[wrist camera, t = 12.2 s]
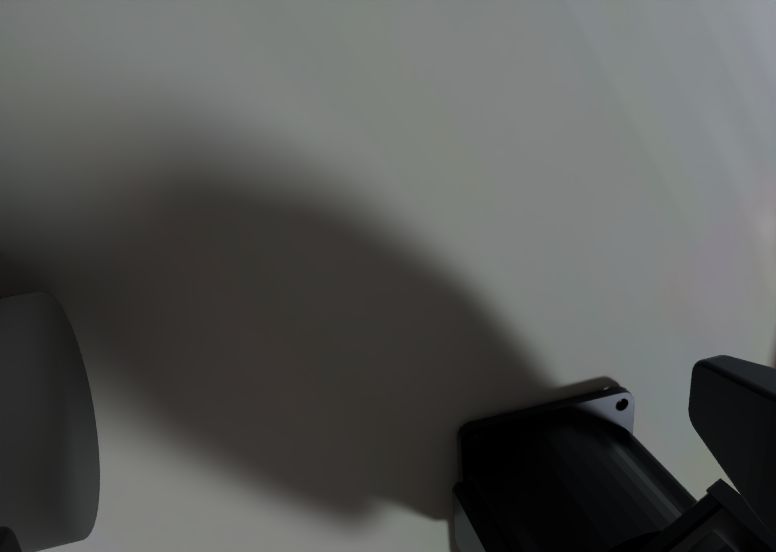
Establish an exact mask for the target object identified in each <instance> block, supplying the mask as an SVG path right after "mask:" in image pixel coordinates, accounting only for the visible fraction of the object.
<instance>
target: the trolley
mask: <svg viewBox="0 0 776 552" xmlns="http://www.w3.org/2000/svg"><path fill="white" fill-rule="evenodd" d="M99 490H100V464H99V447H98V437H97V428H96V421H95V414H94V408H93V402H92V397H91V392H90V387H89V382H88V378H87V374H86V370H85V366H84V362H83V359H82V355H81V352H80V349H79V346H78V343H77V340H76V337H75V335H74V332H73V330H72V327H71V325H70V323H69V320H68V318H67V316H66V314H65V312H64V311H63V309H62V307H61V306H60V304H59V303H58V301H57V300H56V299H55V298H54V297H53V296H52V295H51V294H50V293H48V292H46V291H38V292H33V293H27V294H22V295H16V296H10V297H5V298H0V527H3V526H6V527H9V528H11V529H12V530H13V532H14V533H15V535H16V537H17V539H18V542H19V544H20V547H21V550H22V552H36V551H40V550H44V549H48V548H52V547H56V546H60V545H64V544H68V543H72V542H76V541H80V540H84V539H85V538H87V537H88V536H89V534H90V533H91V531H92V529H93V527H94V524H95V520H96V516H97V510H98V503H99Z"/></svg>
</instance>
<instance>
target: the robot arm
mask: <svg viewBox="0 0 776 552" xmlns="http://www.w3.org/2000/svg"><path fill="white" fill-rule="evenodd" d="M621 399H622V400H621ZM619 400H621V401H620V403H618V404H616V403H617V402H618V401H619ZM634 406H635V400H634V397H633V395H632V394H631V393H630V392H629V391H628V390H627V389H626V388H623V387H614V388H610V389H606V390H602V391H597V392H593V393H589V394H585V395H581V396H577V397H572V398H568V399H564V400H560V401H556V402H552V403H547V404H543V405H539V406H535V407H531V408H527V409H522V410H518V411H514V412H510V413H506V414H502V415H497V416H493V417H489V418H485V419H481V420H477V421H472V422H469V423H467V424H465V425H463V426H462V427H461V428H460V430H459V431H458V433H457V449H458V465H459V482H456V483H455V485H454V487H453V489H452V495H453V511H454V526H455V540H456V544H457V546H458V548H459V550H460V552H776V369H775V368H772V367H768V366H764V365H761V364H757V363H753V362H749V361H746V360H742V359H738V358H734V357H731V356H727V355H719V356H715V357H711V358H707V359H702V360H699V361H698V362H696V363H695V365H694V367H693V370H692V377H691V387H690V397H689V408H688V411H689V417H690V421H691V423H692V425H693V427H694V429H695V430H696V432H697V433H698V434H699V436H700V437H701V439H702V440H703V442H704V443H705V444H706V446H707V447H708V449H709V450H710V452H711V453H712V454H713V456H714V457H715V459H716V460H717V462H718V463H719V464H720V466H721V467H722V469H723V470H724V472H725V473H726V474H727V476H728V477H729V479H730V480H731V482H732V483H733V484H734V486H735V487H736V489H737V490H738V492H739V493H740V494H739V493H738V492H736V491H735V490H734V489H733V488H732V487H730V486H729V485H728V484H727V483H726V482H724V481H723V480H722V479H721V478H720V479H719V480H718V481H716V482H715V483H714V484H713V485H711V486H710V487H709V488H708V489H707V490H706V491H707V494H706V495H705V496H704V497H702V498H701V499H700V500H699V501H697V500H696V499H695V498H694V497H693V496H692V495H691V494H690V493H689V492H688V491H687V490H686V489H685V488H684V487H683V486H682V485H681V484H680V483H679V482H678V481H677V480H676V479H675V478H674V476H673V475H672V474H671V473H670V472H669V471H668V470H667V469H666V468H665V467H664V466H663V465H662V464H661V463H660V462H659V461H658V460H657V459H656V458H655V457H654V456H653V455H652V454H651V453H650V452H649V451H648V450H647V449H646V448H645V447H644V446H643V445H642V444H641V443H640V442H639V441H638V440H637V439H636V438H635V437H634V435H633V422H634ZM473 435H477V436H476V438H475V439H473V440H468V439H469V438H470V437H471V436H473ZM0 552H22V550H21V547H20V544H19V542H18V539H17V537H16V535H15V533H14V532H13V530H12V529H11V528H9V527H6V526H3V527H0Z"/></svg>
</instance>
